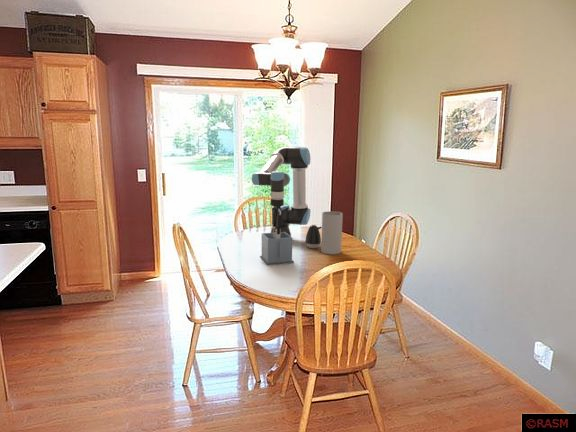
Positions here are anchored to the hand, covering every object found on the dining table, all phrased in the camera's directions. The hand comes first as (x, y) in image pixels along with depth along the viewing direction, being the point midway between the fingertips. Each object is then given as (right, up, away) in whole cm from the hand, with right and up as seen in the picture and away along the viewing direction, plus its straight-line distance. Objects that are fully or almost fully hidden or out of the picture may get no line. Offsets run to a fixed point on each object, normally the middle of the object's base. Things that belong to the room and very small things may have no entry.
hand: (276, 238), depth 239 cm
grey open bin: (0, -13, +3) cm, 13 cm away
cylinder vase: (+34, -10, +21) cm, 41 cm away
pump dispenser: (+23, -8, +31) cm, 39 cm away
